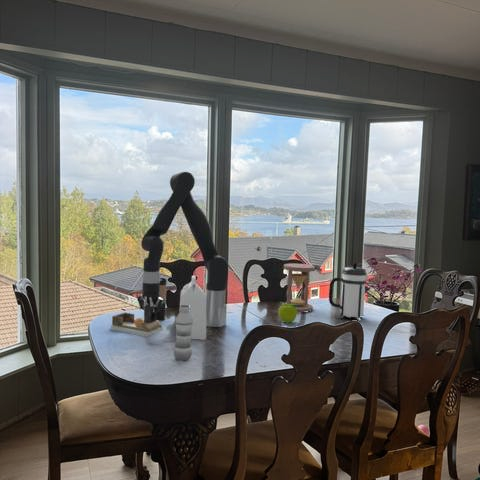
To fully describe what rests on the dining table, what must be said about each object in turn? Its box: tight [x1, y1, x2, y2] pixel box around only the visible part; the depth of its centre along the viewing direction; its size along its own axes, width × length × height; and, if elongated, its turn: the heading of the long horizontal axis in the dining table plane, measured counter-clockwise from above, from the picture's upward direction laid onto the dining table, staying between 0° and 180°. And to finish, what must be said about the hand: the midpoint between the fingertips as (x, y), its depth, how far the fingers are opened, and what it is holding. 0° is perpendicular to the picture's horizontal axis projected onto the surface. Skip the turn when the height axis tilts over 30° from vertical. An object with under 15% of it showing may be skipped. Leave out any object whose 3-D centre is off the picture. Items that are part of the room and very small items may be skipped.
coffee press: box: [328, 262, 370, 318], centre depth 246 cm, size 17×16×30 cm
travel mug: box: [153, 277, 167, 322], centre depth 227 cm, size 8×8×20 cm
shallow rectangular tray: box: [109, 319, 164, 337], centre depth 208 cm, size 20×12×2 cm, turn 65°
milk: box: [178, 275, 207, 340], centre depth 202 cm, size 12×12×26 cm
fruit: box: [278, 301, 298, 323], centre depth 232 cm, size 9×9×10 cm
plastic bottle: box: [173, 305, 193, 361], centre depth 171 cm, size 6×7×20 cm
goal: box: [111, 312, 135, 327], centre depth 211 cm, size 6×8×4 cm, turn 155°
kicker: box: [141, 305, 161, 331], centre depth 205 cm, size 5×7×10 cm
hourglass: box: [281, 263, 316, 312], centre depth 262 cm, size 18×18×25 cm
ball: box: [134, 317, 144, 327], centre depth 207 cm, size 4×4×4 cm
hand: (150, 319), depth 205 cm, fingers closed on kicker, 3 cm apart
